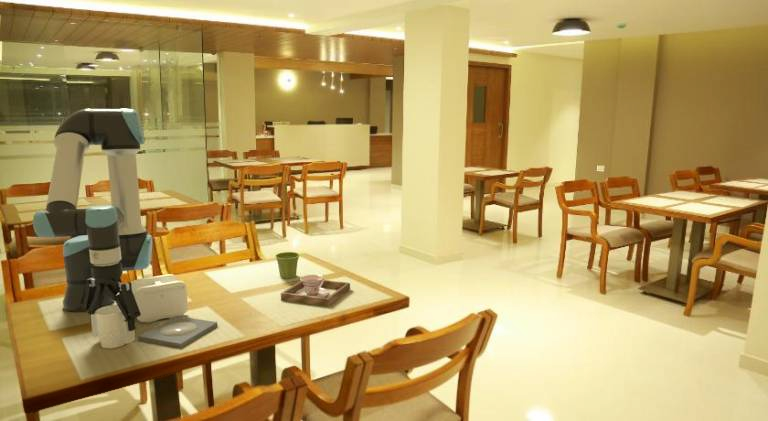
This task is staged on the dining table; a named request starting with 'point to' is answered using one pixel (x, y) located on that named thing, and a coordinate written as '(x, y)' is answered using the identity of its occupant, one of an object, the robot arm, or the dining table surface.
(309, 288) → the teacup
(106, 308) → the white cup
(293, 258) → the plant pot
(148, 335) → the slate mat
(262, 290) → the dining table surface
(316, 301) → the teacup tray rim
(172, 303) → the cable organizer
